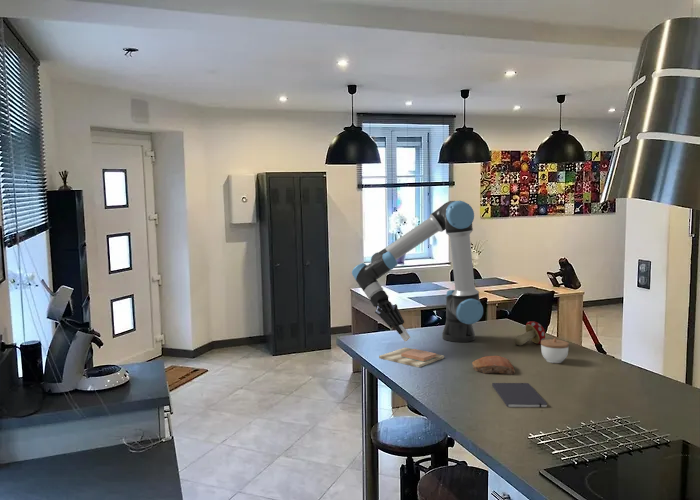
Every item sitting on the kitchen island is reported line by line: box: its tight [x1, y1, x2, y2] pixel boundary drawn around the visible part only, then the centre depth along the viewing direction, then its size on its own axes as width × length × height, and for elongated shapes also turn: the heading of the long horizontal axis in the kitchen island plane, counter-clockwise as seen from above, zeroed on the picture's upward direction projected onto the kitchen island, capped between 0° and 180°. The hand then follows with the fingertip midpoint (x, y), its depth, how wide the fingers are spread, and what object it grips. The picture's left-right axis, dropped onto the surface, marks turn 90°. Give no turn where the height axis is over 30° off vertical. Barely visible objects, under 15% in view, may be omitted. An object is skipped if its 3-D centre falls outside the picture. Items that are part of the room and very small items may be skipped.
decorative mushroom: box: [514, 321, 546, 346], centre depth 264 cm, size 11×11×15 cm
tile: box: [401, 348, 437, 362], centre depth 240 cm, size 2×9×11 cm
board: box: [378, 347, 445, 368], centre depth 243 cm, size 20×18×1 cm
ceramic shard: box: [471, 355, 516, 375], centre depth 227 cm, size 15×6×15 cm
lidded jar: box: [540, 337, 570, 364], centre depth 237 cm, size 11×11×9 cm
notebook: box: [492, 382, 548, 408], centre depth 196 cm, size 13×2×21 cm
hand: (407, 339), depth 243 cm, fingers closed
